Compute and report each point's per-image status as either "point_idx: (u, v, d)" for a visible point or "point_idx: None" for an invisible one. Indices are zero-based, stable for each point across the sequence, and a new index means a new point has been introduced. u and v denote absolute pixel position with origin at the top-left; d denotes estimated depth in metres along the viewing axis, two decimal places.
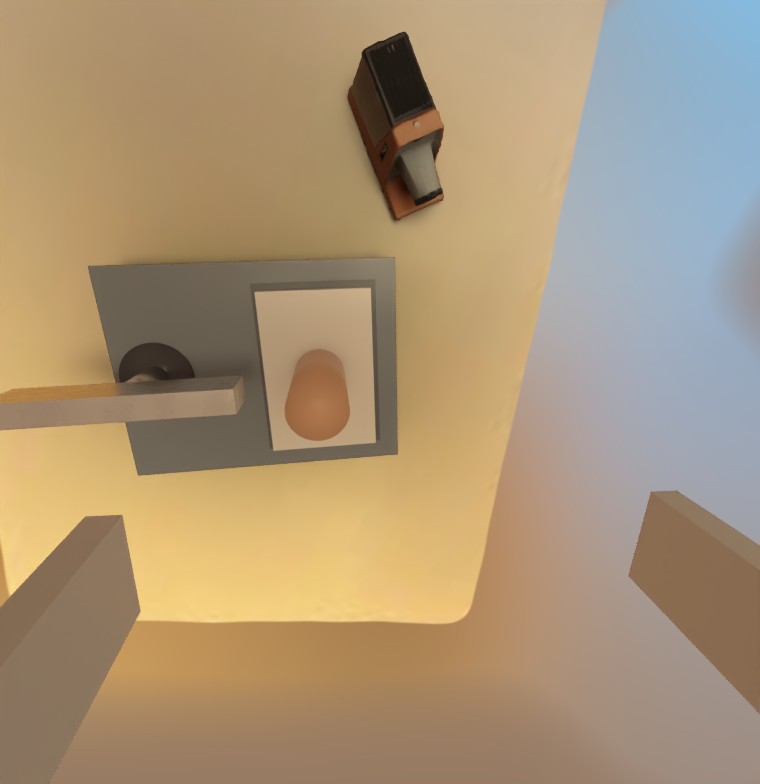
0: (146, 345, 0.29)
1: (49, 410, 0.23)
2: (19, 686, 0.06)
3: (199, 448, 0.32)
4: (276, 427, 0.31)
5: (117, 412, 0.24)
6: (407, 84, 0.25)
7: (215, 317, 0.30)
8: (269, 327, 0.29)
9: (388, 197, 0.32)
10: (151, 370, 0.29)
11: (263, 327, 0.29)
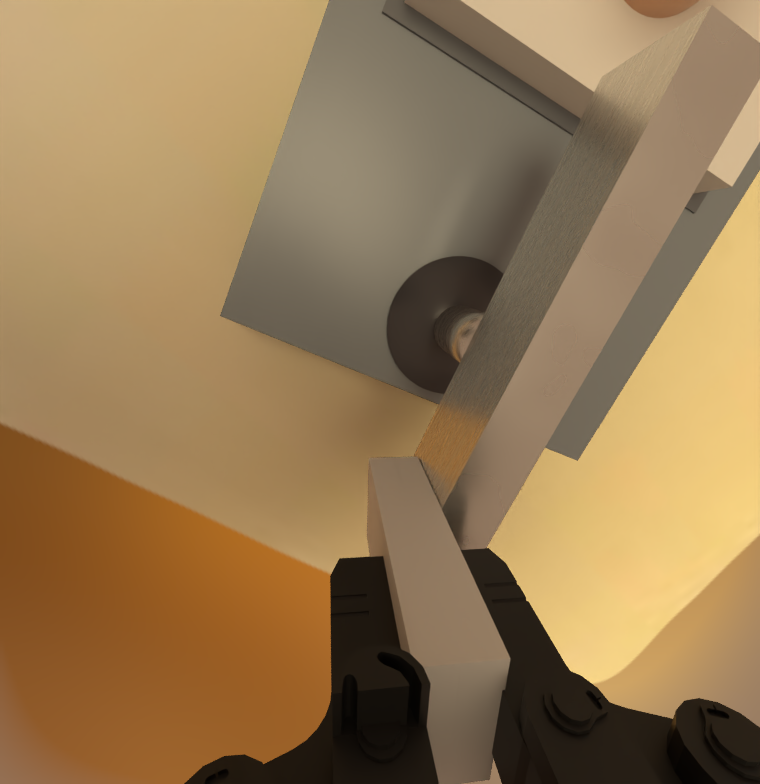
0: (394, 308, 0.15)
1: (473, 498, 0.10)
2: None
3: None
4: None
5: (562, 370, 0.09)
6: None
7: (409, 143, 0.13)
8: None
9: None
10: (446, 318, 0.14)
11: (497, 8, 0.11)
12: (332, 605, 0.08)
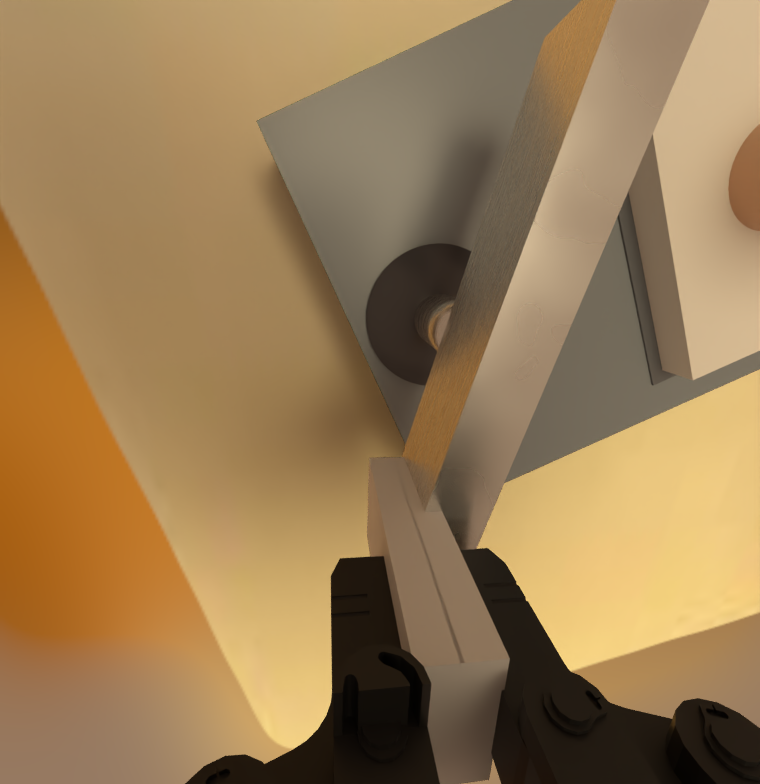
0: (405, 256, 0.14)
1: (457, 492, 0.09)
2: None
3: (529, 428, 0.17)
4: (695, 329, 0.15)
5: (531, 351, 0.09)
6: None
7: None
8: (670, 97, 0.12)
9: None
10: (423, 309, 0.14)
11: None
12: (333, 605, 0.08)
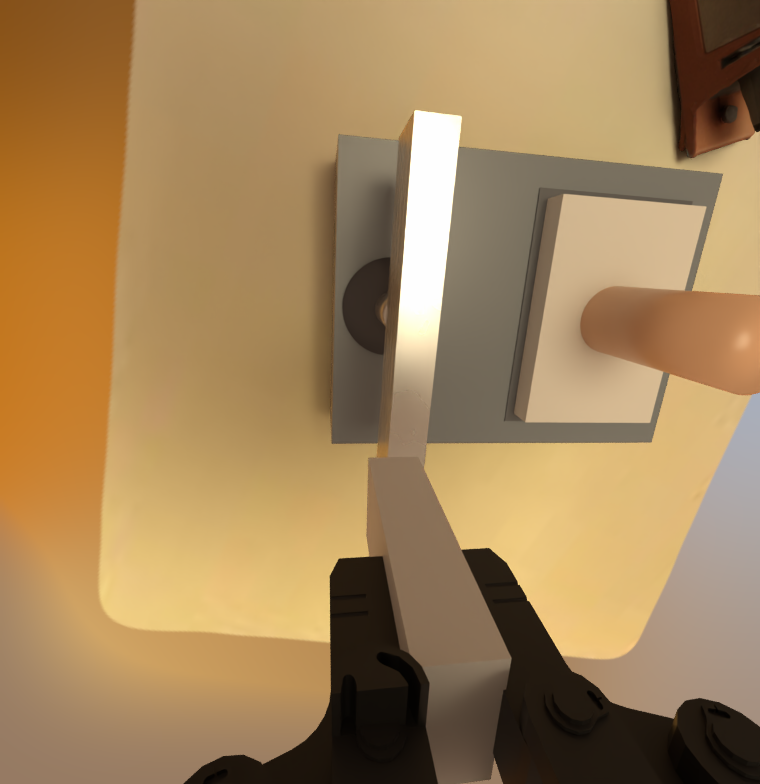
0: (389, 260, 0.21)
1: (406, 406, 0.16)
2: None
3: None
4: (537, 390, 0.23)
5: (424, 317, 0.15)
6: None
7: (484, 230, 0.22)
8: (568, 247, 0.21)
9: (693, 124, 0.25)
10: (377, 305, 0.21)
11: (560, 246, 0.21)
12: (331, 605, 0.08)
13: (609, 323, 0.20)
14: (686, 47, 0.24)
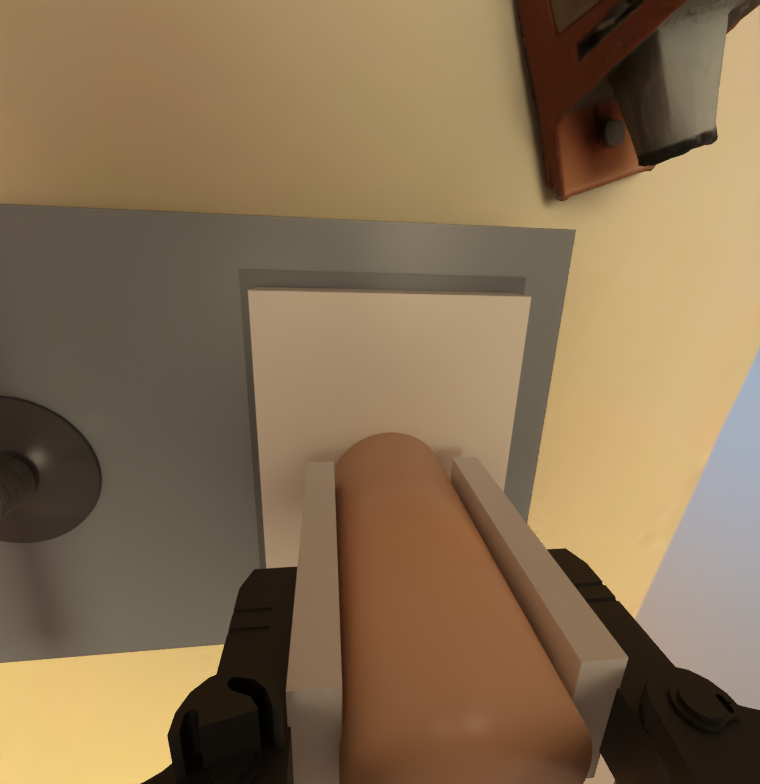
0: None
1: None
2: None
3: (112, 612, 0.15)
4: None
5: None
6: None
7: (153, 343, 0.12)
8: (280, 378, 0.12)
9: (557, 150, 0.16)
10: None
11: (265, 378, 0.12)
12: (232, 620, 0.07)
13: None
14: (534, 25, 0.14)
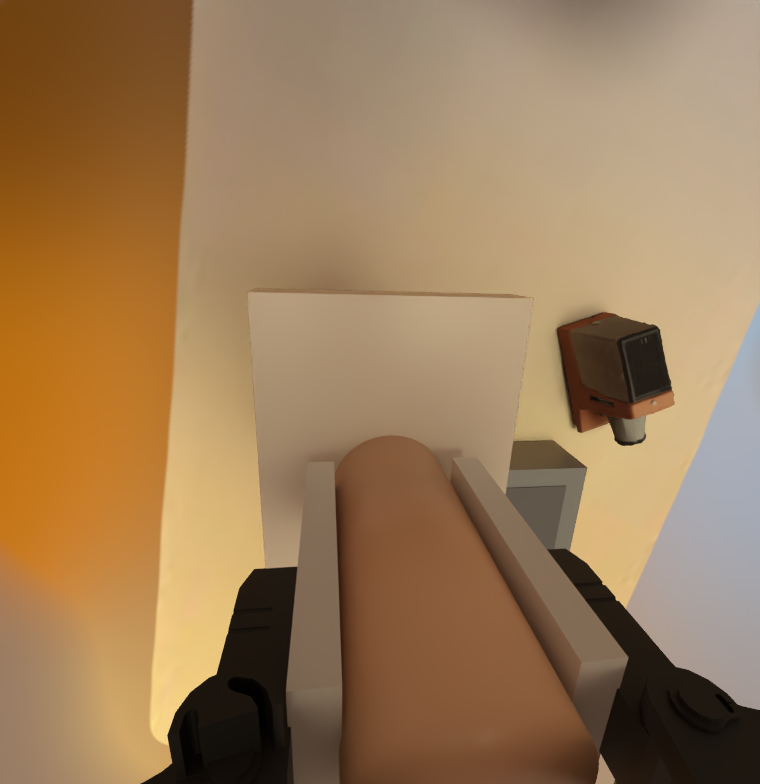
0: None
1: None
2: None
3: None
4: None
5: None
6: (652, 370, 0.27)
7: None
8: (279, 381, 0.12)
9: (579, 416, 0.34)
10: None
11: (265, 380, 0.12)
12: (232, 620, 0.07)
13: None
14: (570, 370, 0.33)
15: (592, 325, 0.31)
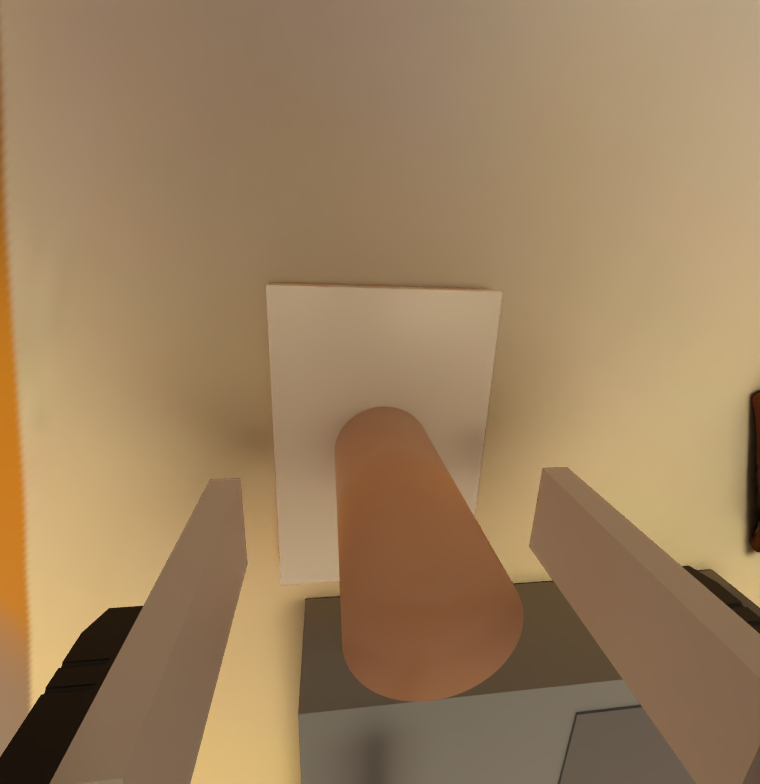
0: None
1: None
2: (206, 597, 0.08)
3: None
4: (289, 545, 0.16)
5: None
6: None
7: (502, 760, 0.16)
8: (291, 359, 0.14)
9: None
10: None
11: (279, 359, 0.14)
12: (55, 675, 0.06)
13: None
14: None
15: None
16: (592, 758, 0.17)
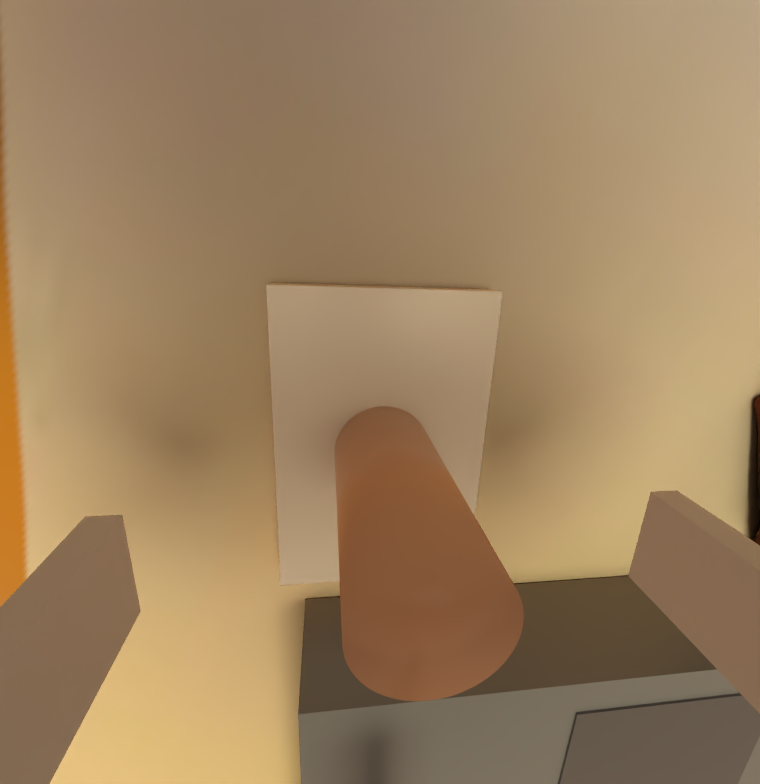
0: None
1: None
2: (19, 685, 0.06)
3: None
4: (289, 545, 0.16)
5: None
6: None
7: (502, 760, 0.16)
8: (291, 359, 0.14)
9: None
10: None
11: (279, 358, 0.14)
12: None
13: None
14: None
15: None
16: (592, 758, 0.17)
